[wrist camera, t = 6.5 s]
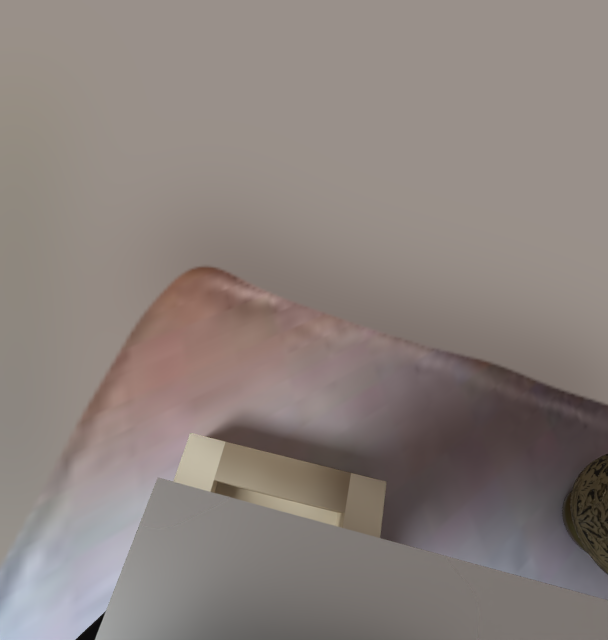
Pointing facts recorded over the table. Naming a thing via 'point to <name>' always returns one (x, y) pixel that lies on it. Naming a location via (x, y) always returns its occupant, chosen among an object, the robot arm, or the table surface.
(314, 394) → the table surface
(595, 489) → the cup
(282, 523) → the steel bar
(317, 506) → the socket block
